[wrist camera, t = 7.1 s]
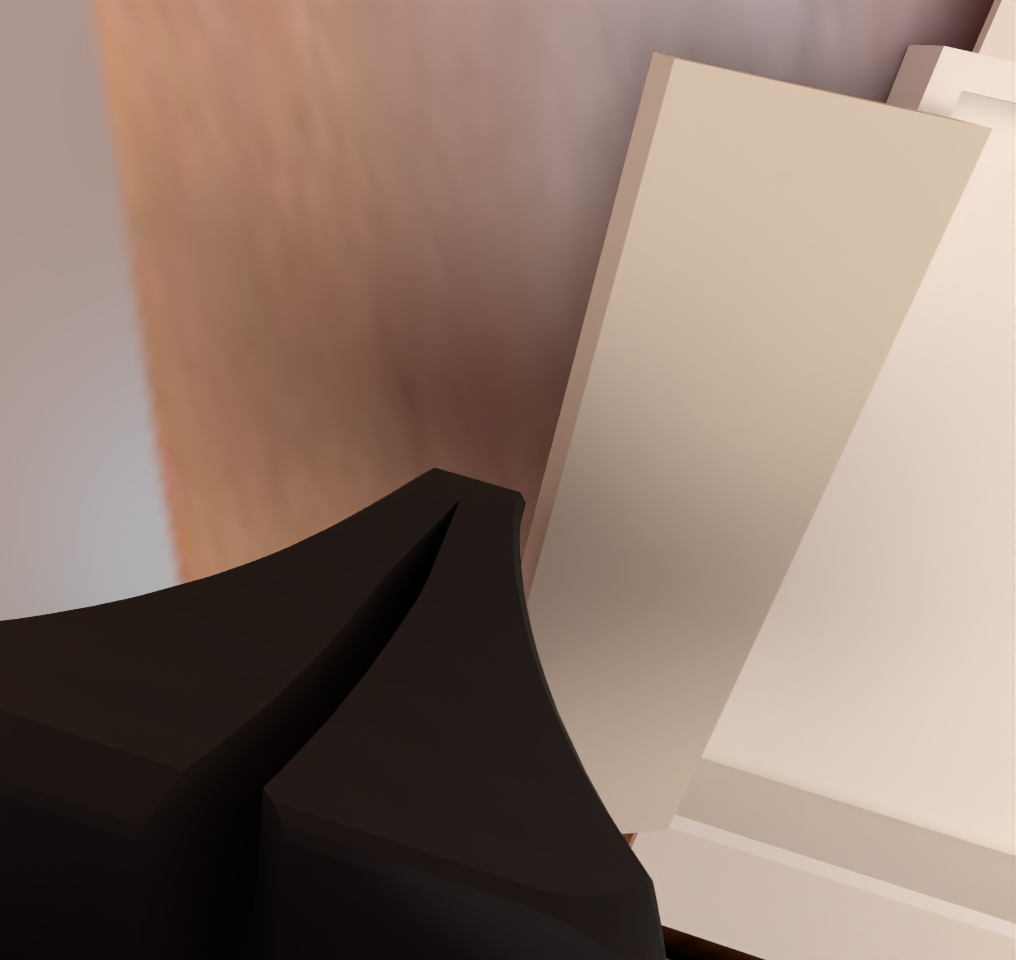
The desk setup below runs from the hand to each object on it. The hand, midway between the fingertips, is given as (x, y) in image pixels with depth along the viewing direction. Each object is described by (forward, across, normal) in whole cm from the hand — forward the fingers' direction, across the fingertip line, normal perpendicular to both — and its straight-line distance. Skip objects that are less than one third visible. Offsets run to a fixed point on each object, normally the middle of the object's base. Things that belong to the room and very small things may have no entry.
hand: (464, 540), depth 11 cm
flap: (+1, -3, 0) cm, 3 cm away
